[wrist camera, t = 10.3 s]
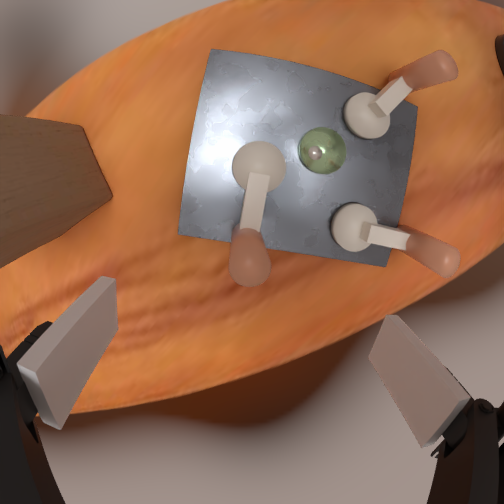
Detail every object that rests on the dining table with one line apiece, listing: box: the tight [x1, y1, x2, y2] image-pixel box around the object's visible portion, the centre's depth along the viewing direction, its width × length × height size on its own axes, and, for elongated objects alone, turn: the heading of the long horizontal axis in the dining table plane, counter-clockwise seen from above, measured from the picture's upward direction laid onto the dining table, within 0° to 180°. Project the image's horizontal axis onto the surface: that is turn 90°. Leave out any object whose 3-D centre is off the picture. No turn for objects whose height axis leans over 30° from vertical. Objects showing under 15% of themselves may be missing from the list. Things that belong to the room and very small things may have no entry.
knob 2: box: [344, 50, 458, 139], centre depth 20 cm, size 11×5×9 cm, turn 137°
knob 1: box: [229, 141, 286, 287], centre depth 23 cm, size 11×5×9 cm, turn 170°
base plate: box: [178, 49, 418, 267], centre depth 26 cm, size 24×20×2 cm
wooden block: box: [0, 114, 112, 268], centre depth 17 cm, size 10×10×20 cm
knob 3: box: [331, 203, 460, 278], centre depth 24 cm, size 11×5×9 cm, turn 80°
